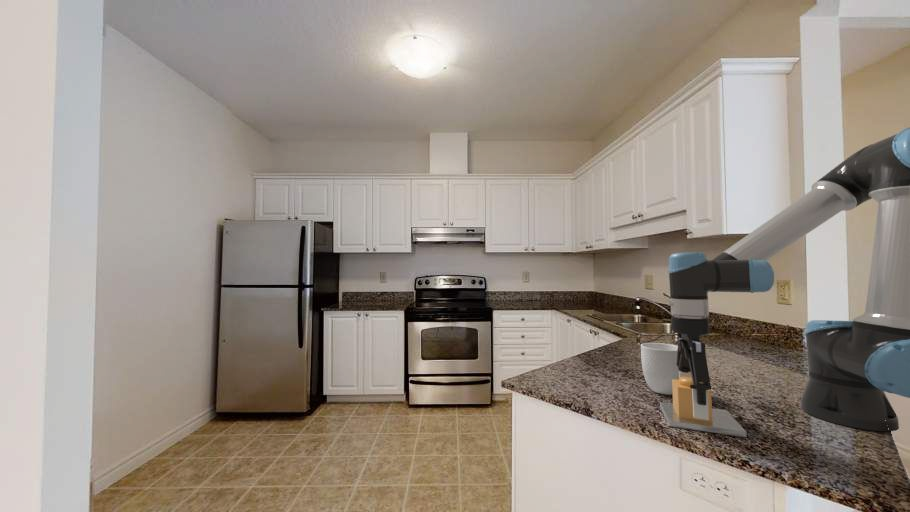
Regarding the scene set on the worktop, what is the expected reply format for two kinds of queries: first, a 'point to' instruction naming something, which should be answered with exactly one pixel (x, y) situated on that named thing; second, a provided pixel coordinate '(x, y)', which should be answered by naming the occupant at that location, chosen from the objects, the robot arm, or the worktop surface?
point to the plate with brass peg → (705, 422)
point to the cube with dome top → (686, 399)
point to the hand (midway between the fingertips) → (693, 407)
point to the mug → (659, 366)
